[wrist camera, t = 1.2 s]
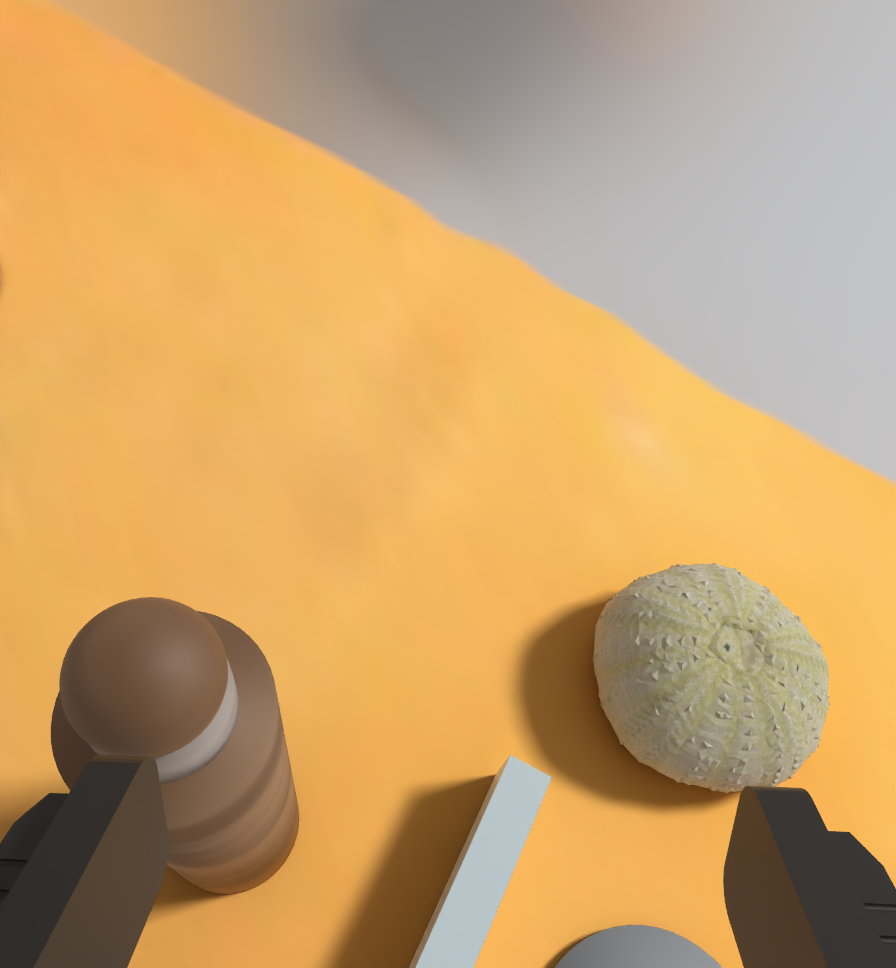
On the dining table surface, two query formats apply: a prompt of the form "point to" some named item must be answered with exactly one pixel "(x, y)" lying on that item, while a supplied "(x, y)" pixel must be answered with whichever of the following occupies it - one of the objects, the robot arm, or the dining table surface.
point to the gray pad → (636, 950)
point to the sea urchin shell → (710, 678)
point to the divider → (483, 869)
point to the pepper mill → (185, 734)
